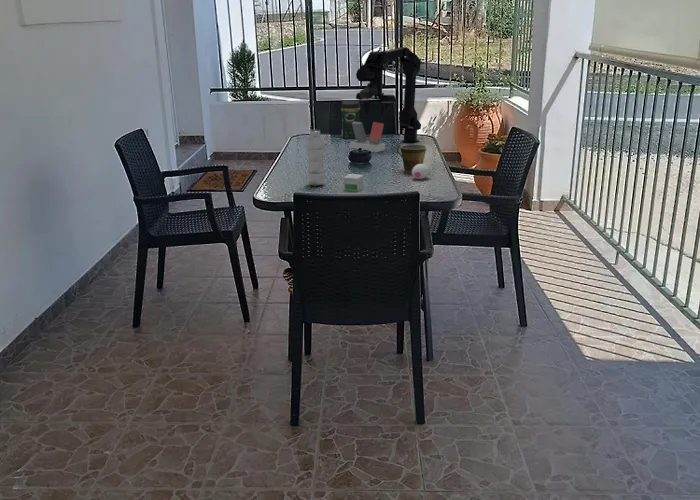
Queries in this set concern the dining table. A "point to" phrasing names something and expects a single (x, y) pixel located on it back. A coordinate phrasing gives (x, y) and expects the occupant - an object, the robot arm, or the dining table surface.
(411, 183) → the dining table surface
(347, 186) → the small box
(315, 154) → the plastic bottle
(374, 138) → the upright red slab
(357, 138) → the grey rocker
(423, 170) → the stress ball
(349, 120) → the coffee jar
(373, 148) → the shallow grey tray
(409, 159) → the ceramic cup
